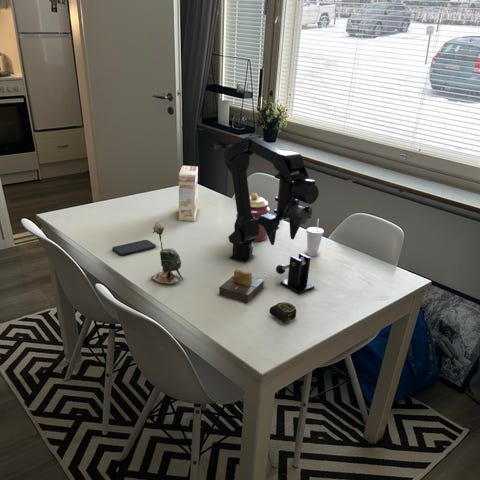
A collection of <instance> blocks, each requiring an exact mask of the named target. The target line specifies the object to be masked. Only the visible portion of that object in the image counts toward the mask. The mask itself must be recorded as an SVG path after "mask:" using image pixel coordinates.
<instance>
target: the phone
mask: <svg viewBox="0 0 480 480" xmlns="http://www.w3.org/2000/svg"><path fill="white" fill-rule="evenodd" d="M156 247H157V245H156V244H155V243H153V242H152V241H151V240H148V239H142V240H137V241H133V242H128V243H124V244H120V245H115V246H112V248H111V249H112V251H113V252H115V253H116V254H118V256H119V255H120V256H127V255H130V254H135V253H139V252H142V251H143V252H144V251H147V250H151V249H156Z"/></svg>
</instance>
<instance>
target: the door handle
mask: <svg viewBox="0 0 480 480" xmlns="http://www.w3.org/2000/svg"><path fill="white" fill-rule="evenodd" d="M298 258H299V257H298ZM299 259H300V260H302V265H304V264H306V262H305V259H304V257H302V258H299ZM287 269H289V264H287V265H283V264H278V265H277V266H276V268H275V272H276V273H277V274H278V275H282V274H284V273H285V272H286V270H287Z"/></svg>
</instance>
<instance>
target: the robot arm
mask: <svg viewBox="0 0 480 480" xmlns="http://www.w3.org/2000/svg"><path fill="white" fill-rule="evenodd" d="M254 154H255V155H256V156H258V157H261V158H262V159H264V160H266V161H267V162H269V163H271V164H272V165H273V168H274V169H275V171H277V172H278V173H277V174H275V175H274V178H275V179H277V180H279V181H278V182H279V183H278V191H277V196H275V197H274V201H275V202H277V203H276V209H275V208H274V209H273V213H274V214H275V215H273V214H271V213H270V212H268V214H264V215H260V216H259V217H258V219H255V218H254V217H253V215H252V213H251V205H250V197H249V196H250V190H249V182H248V175H247V174H248V173H247V172H248V170H249V169H248V168H249V166H250V161H251V158H250V157H251V156H252V155H254ZM223 158H224V163H225V166H226V168H227V169H228V171H229V172H230V173H231V177H232V184H233V185H232V186H233V192H234V201H235V206H236V207H235V208H236V215H237V217H236V219H235V222H234V224H233V226H234V227H233V228H234V229H233V230H234V231H232V233H230V235H229V236H228V241H229V243H230V244H232V248H231V249H232V250H231V251H232V252H231V255H230V257H229V259H231V260H235V261H240V262H243V263H247V262H248V261H249V260H251V259H252V258H253V257H254V255H253V253H254V252H253V250H254V247H253V246H252V245H253V243H255V242H254V241H256V238H257V236H258V235H259V230H260V228H259V224H260V225H261V226H263V227H264V229H265V231H266V233H267V238H268V240H269V243H270V245H272V246H275V242H276V235H277V231H278V230H279V229H280V227H279V226H280V222H281V221H286V220H288V221H289V236H290V240H294V239H295V237H296V236H297V233H298V231H299V229H300V227H301V225H305V224H306V223H307V222H308V220H309V219H312V215H313V208H312V207H311V206H310V205H313V204H314V203H315V202H316V201H317V199H318V198H319V194H320V191H319V188H318V186H317V185H316V181H315V180H314V179H309V178H310V177H309V174H308V170H307V167H306V165H305V162H304V160H303V156H302V155H301V154H300V153H299V152H294V151H291V150H290V151H289V150H282V149H280V148H277V147H276V146H274V145H273V144H271V143H268V142H267V141H265V140H263V139H261V138H260V137H259V136H256V135H251V136H245V137H244V138H242V139H241V140H239V141H237V142H236V143H234V144H232V145H230V146H226V148H225V150H224V151H223ZM300 202H302V203H305V204H307V205H308V206H302V205H300Z"/></svg>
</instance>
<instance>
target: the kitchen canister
mask: <svg viewBox="0 0 480 480" xmlns="http://www.w3.org/2000/svg"><path fill="white" fill-rule="evenodd" d="M249 197H250V205H251V213H252V215H253V217H254V218H255V219H258V217H259V216H260V215H264V214H268V213H270V211H271V207H269V206H268V205H269V202H268V200H266V199H265V198H264V197H261V196H258V194H257V193H256V192H252V193H251V194H250V195H249ZM236 218H237V214H236ZM259 228H260V230H259V235H258V236H257V238H256V241H254V242H253V243H259V242H263V241H265V240H266V239H267V238H268V236H267V233H266V231H265V229H264V227H263V226H261V225H260V224H259Z"/></svg>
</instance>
